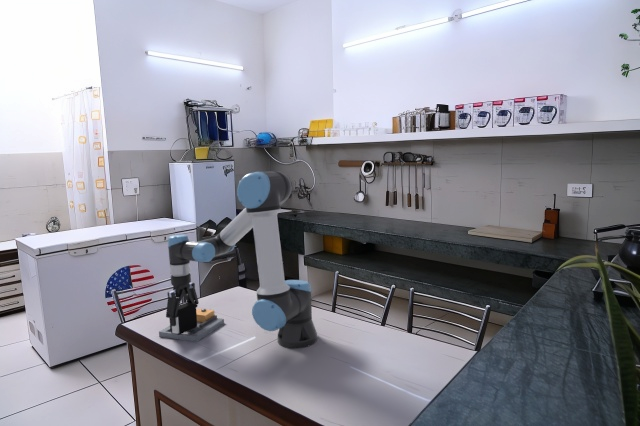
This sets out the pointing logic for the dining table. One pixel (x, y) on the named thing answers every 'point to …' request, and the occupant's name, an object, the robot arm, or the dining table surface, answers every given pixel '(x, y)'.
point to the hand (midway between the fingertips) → (184, 327)
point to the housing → (195, 330)
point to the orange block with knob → (204, 314)
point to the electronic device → (186, 317)
